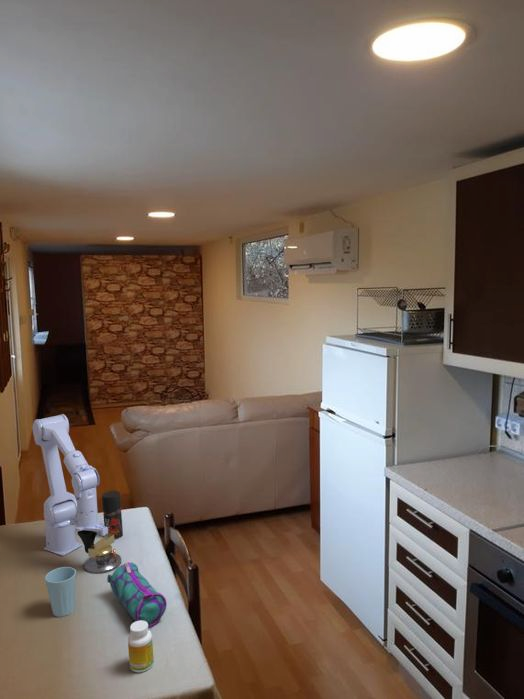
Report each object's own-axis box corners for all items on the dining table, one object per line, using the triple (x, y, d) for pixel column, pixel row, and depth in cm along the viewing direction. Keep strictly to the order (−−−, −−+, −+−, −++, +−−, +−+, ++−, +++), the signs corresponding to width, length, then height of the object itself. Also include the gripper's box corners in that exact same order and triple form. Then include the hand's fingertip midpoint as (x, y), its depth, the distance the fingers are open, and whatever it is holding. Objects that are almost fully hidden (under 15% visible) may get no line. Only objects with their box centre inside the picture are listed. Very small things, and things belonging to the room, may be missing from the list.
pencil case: (108, 597, 153) (105, 564, 151) (138, 586, 158) (136, 554, 156) (137, 636, 136) (134, 600, 134) (170, 622, 141) (167, 587, 139)
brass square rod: (83, 558, 166) (82, 547, 165) (104, 543, 175) (103, 532, 175) (100, 561, 164) (99, 550, 163) (120, 546, 173) (119, 535, 173)
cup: (79, 599, 152) (76, 564, 150) (78, 616, 144) (75, 579, 143) (50, 605, 149) (46, 569, 148) (47, 622, 142) (44, 584, 141)
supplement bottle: (152, 672, 123) (149, 632, 122) (127, 674, 123) (125, 634, 121) (155, 655, 128) (152, 617, 127) (131, 657, 128) (128, 619, 127)
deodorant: (125, 531, 191) (122, 490, 189) (119, 540, 185) (116, 497, 183) (109, 531, 192) (105, 490, 190) (102, 539, 186) (99, 497, 184)
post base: (76, 567, 168) (75, 553, 168) (104, 551, 178) (103, 537, 177) (102, 577, 163) (100, 562, 162) (128, 560, 172) (127, 545, 171)
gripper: (60, 509, 165) (63, 551, 167) (93, 519, 157) (96, 564, 159) (78, 500, 171) (81, 541, 173) (112, 510, 163) (114, 553, 165)
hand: (90, 551), depth 166 cm, fingers closed, pressing on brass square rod
